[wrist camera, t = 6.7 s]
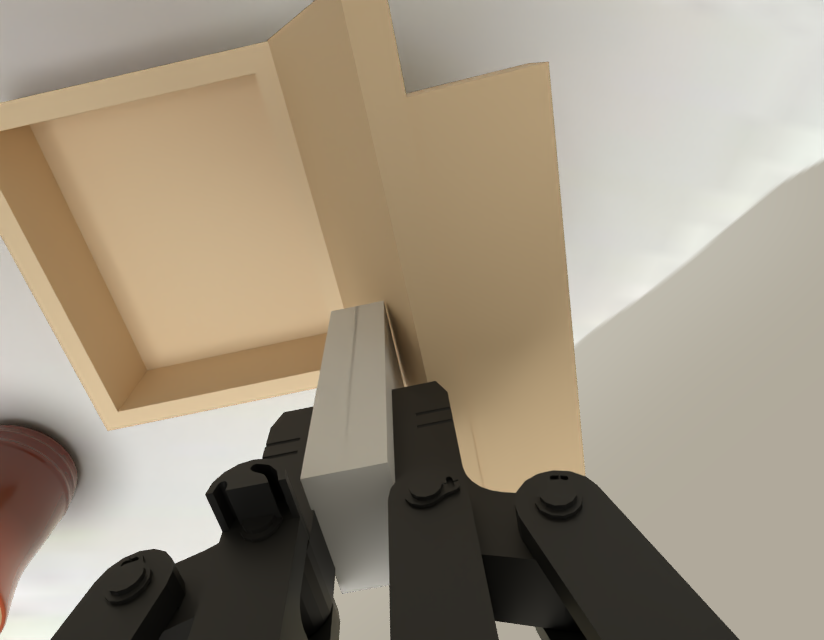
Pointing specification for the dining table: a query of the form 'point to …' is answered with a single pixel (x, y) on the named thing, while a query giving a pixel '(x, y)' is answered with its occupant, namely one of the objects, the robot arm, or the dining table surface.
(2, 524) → the mug
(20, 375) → the dining table surface
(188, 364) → the mailer box
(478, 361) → the lid
